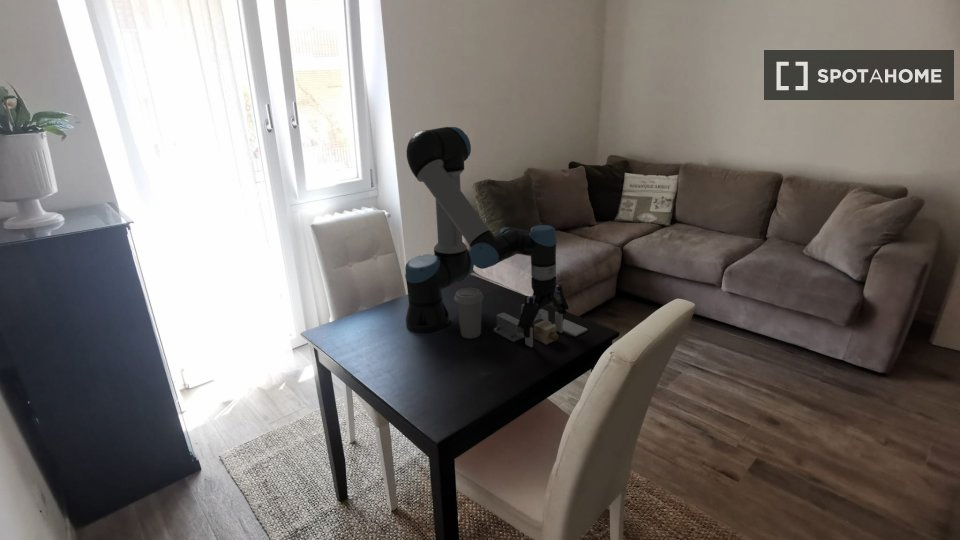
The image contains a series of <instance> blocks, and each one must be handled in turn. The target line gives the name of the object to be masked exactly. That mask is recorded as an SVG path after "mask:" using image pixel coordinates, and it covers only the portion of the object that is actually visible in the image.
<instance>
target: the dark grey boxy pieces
mask: <svg viewBox="0 0 960 540" xmlns="http://www.w3.org/2000/svg"><path fill="white" fill-rule="evenodd" d="M524 304H525V303H522V304H521V305H520V315H521V314H522V310H523V307H524ZM495 316H496V327H495V328H493V332H494V333H496V334H497V335H499V336H502V337H503V338H505V339H507V340H509V341H511V342H512V343H515V342H517V341H520V340H521V339H525V337H524V329H523V328H521V327H519V326H518V323H519V320H520V319H518V318H516V317H514V316H512V315H510V314H508V313H506V312H500V313H498V314H496V315H495ZM540 318H541V319H543V320H545V321H547V322H549V323H551V324H552V322H551V321H550V320H549V311H548V310H546V309H543V308H541V309H540V310H539V311H538V313H537V315H536V317H535V319H534V321H536V320H538V319H540Z"/></svg>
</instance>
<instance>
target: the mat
mask: <svg viewBox="0 0 960 540" xmlns="http://www.w3.org/2000/svg"><path fill="white" fill-rule="evenodd" d="M552 324H553V325H555V323H552ZM563 332H564V333H565V334H568V335H570V336H573V337H575V338H576V337H577V336H579V335H581V334H583V333H586V332H588V328H586V327H584V326H582V325H579V324H576V323H575V322H572V321H570V320H567V319H565V318H564V320H563Z"/></svg>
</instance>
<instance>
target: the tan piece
mask: <svg viewBox="0 0 960 540" xmlns="http://www.w3.org/2000/svg"><path fill="white" fill-rule="evenodd" d="M553 324H554V323H552V322H551V323H549V322H547V321H545V320H543V319H541V318H540V319H538V320H536V321H533V323H532V325H531V327H532V328H533V340H536V341H538V342H540V343H542V344H544V345H548V344H550V343H552V342H556V341H558V339H559V334H558V333H557V331H556V325H553Z"/></svg>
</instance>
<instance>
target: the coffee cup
mask: <svg viewBox="0 0 960 540" xmlns="http://www.w3.org/2000/svg"><path fill="white" fill-rule="evenodd" d="M483 300H484V295H483V293H482V292H481V290H480V289H479V288H476V287H463V288H459V289H458V290H457V291H455V294H454V297H453V301H454V302H455V305H456V306H455V307H456V311H457V317H458V324H459V329H460V330H459V331H460V335H461V337H463V339H475V338H478V337H479V336H480V335H481V334H482V309H483V307H482V306H483V303H482V302H483Z"/></svg>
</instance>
